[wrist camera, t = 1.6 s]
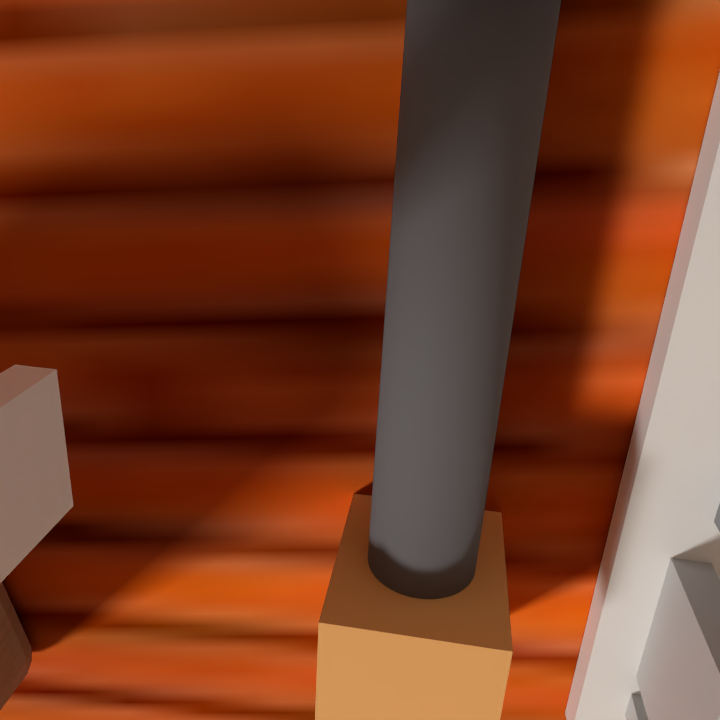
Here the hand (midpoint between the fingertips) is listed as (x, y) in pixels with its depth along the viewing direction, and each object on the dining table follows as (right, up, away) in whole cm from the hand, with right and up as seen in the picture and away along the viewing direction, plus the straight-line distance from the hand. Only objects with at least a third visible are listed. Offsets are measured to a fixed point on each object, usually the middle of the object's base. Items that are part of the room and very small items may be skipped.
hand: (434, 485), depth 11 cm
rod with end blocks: (+1, +4, +9) cm, 10 cm away
